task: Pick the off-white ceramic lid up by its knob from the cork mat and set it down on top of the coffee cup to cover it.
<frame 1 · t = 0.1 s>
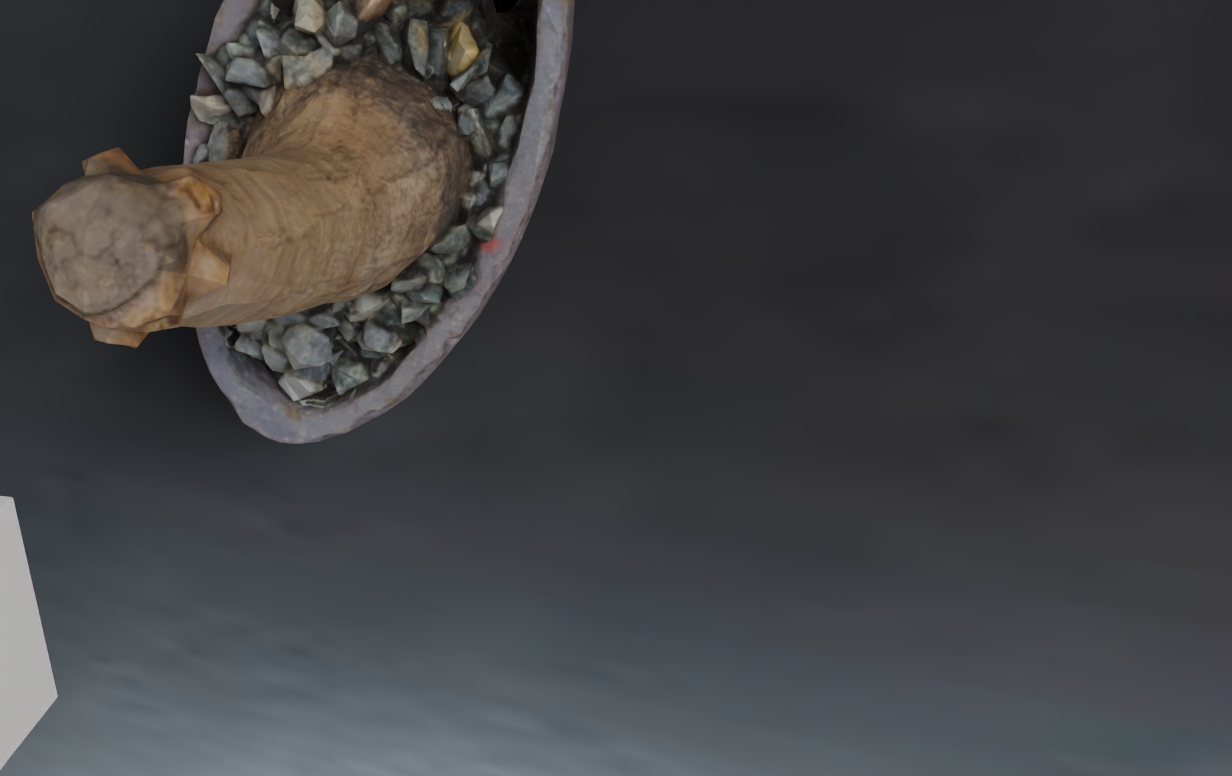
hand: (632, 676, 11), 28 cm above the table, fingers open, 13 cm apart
planter: (438, 90, 37), on the table
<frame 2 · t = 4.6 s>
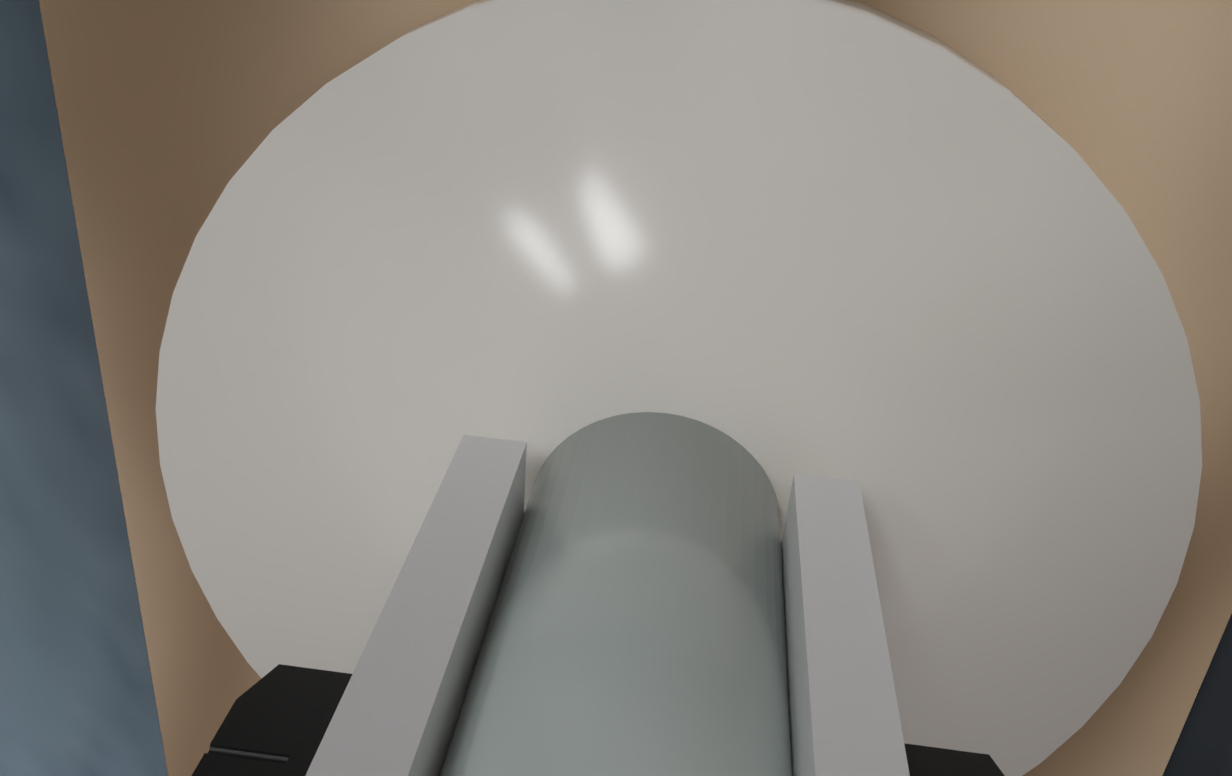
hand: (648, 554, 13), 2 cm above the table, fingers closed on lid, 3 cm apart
mat: (666, 459, 15), on the table
lid: (660, 472, 15), resting on mat, touching gripper
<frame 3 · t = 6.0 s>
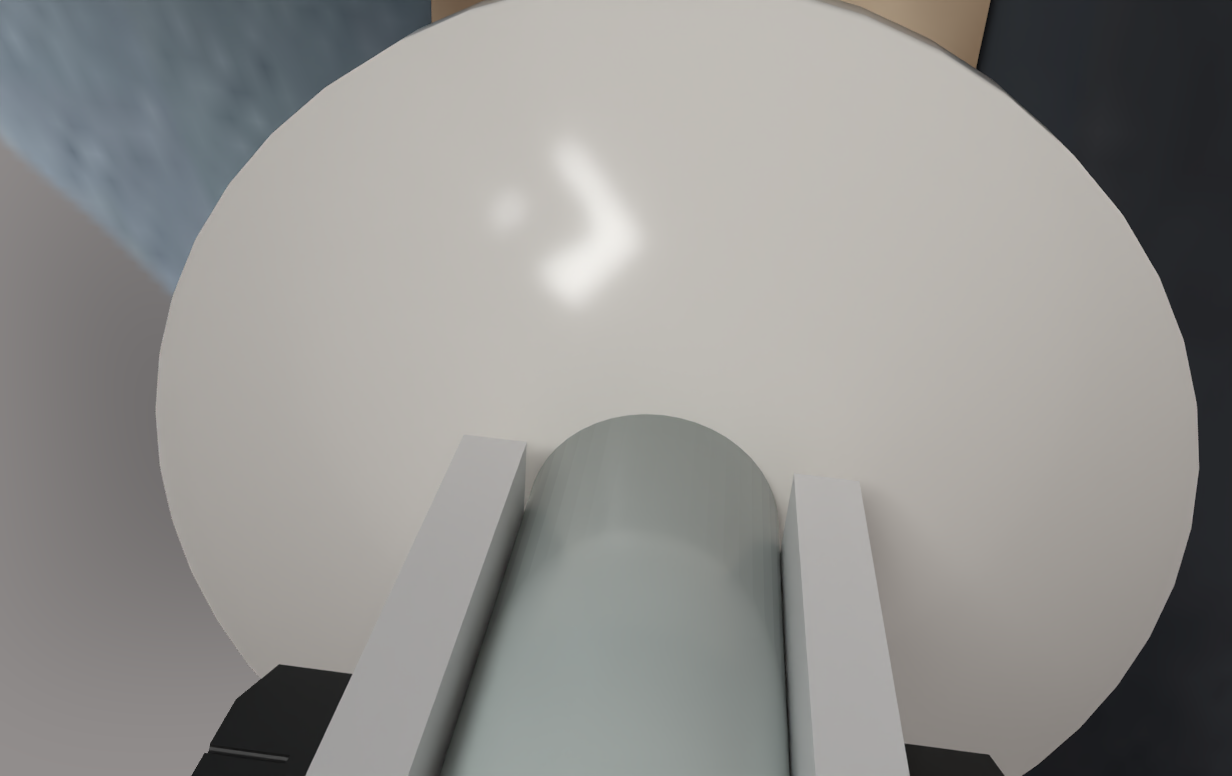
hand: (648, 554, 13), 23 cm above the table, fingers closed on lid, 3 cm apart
mat: (692, 116, 33), on the table
lid: (658, 474, 15), point 21 cm above the table, touching gripper
when the fingers open (18 cm above the table, at t = 7.9 s): lid drops 1 cm, resting on coffee cup.
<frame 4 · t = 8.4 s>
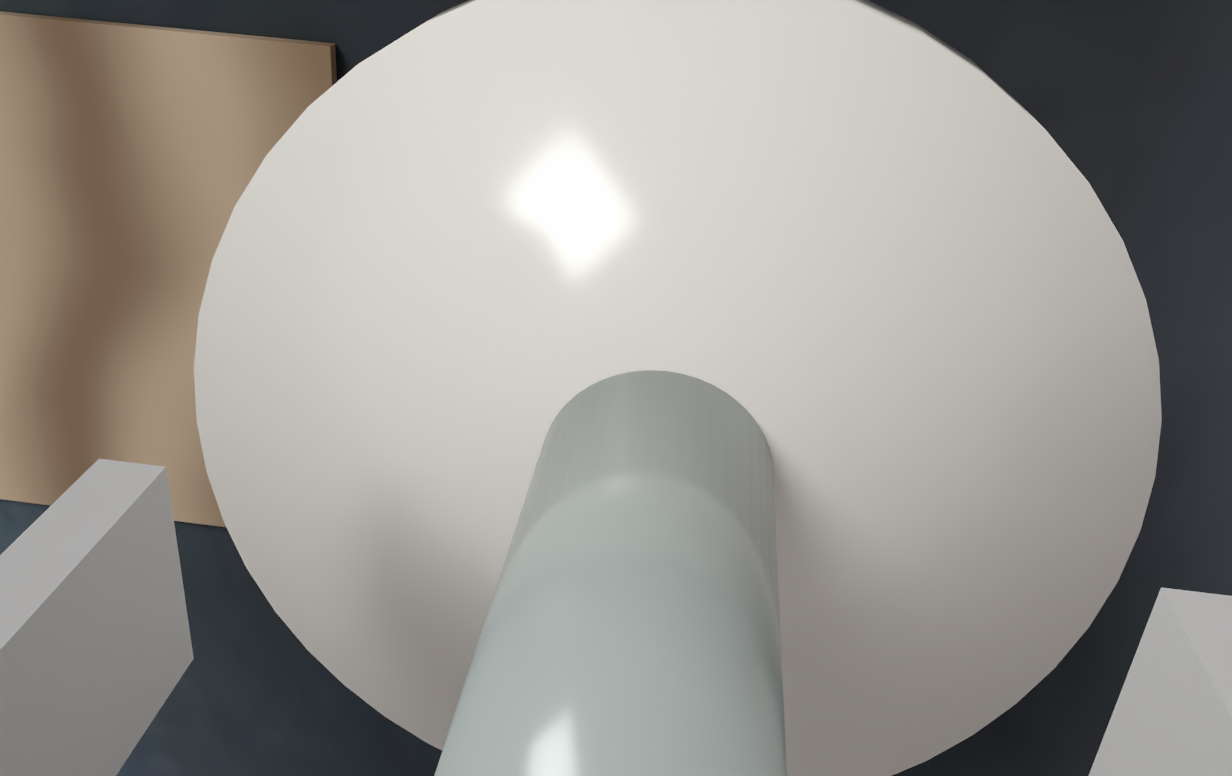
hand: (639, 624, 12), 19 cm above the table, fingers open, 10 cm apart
mat: (91, 289, 33), on the table
lid: (661, 431, 16), point 15 cm above the table, touching coffee cup
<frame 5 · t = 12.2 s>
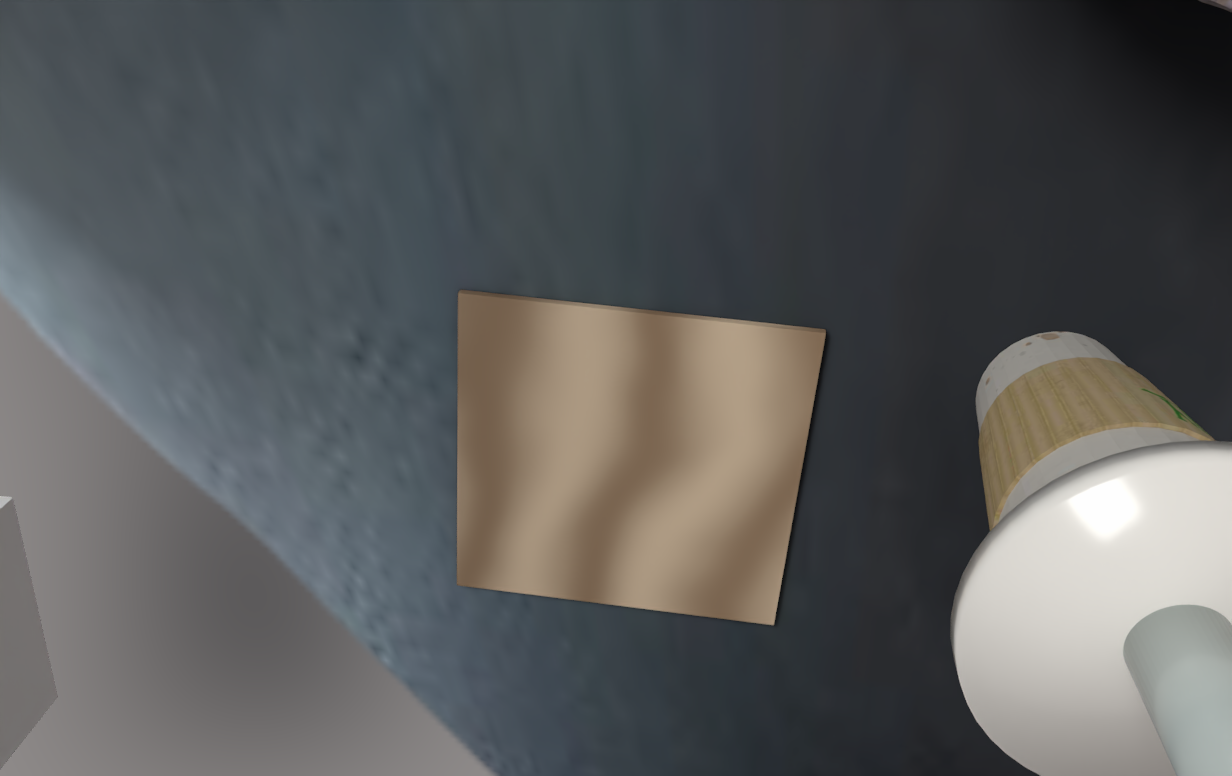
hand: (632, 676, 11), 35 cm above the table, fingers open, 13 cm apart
mat: (626, 465, 51), on the table
lid: (1165, 621, 34), point 15 cm above the table, touching coffee cup
coffee cup: (1048, 394, 47), on the table, touching lid
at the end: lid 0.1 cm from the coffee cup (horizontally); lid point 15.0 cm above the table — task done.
